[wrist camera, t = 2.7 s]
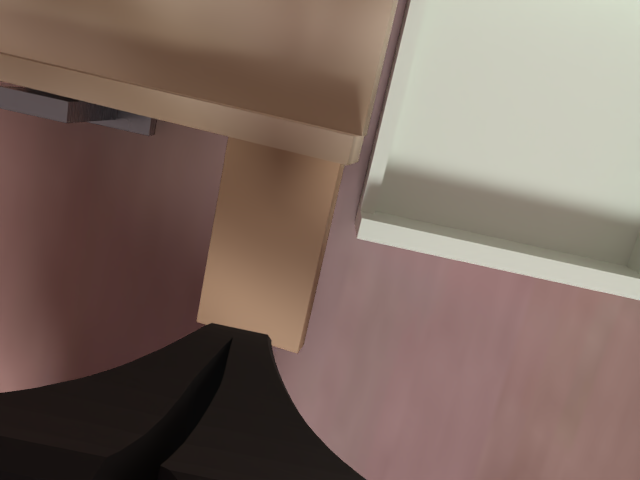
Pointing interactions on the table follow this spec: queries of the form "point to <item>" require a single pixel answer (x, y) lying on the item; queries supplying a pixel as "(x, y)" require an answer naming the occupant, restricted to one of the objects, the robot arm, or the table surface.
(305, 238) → the lever
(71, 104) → the pivot
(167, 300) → the table surface
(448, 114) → the dish
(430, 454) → the table surface
